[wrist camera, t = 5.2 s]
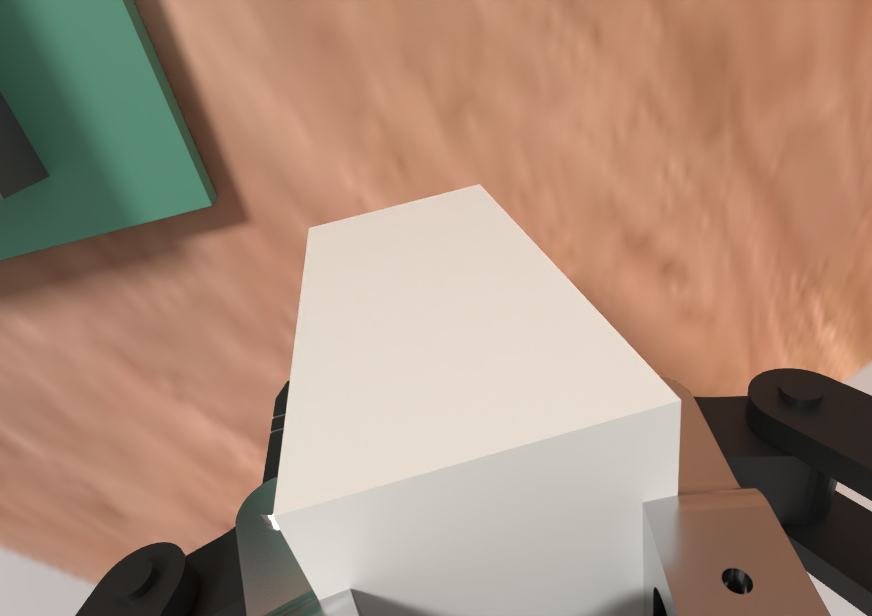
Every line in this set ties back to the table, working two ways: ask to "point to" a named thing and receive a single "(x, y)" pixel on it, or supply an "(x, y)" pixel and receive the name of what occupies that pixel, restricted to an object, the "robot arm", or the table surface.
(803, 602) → the robot arm
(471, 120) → the table surface
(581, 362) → the plug
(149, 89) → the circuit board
